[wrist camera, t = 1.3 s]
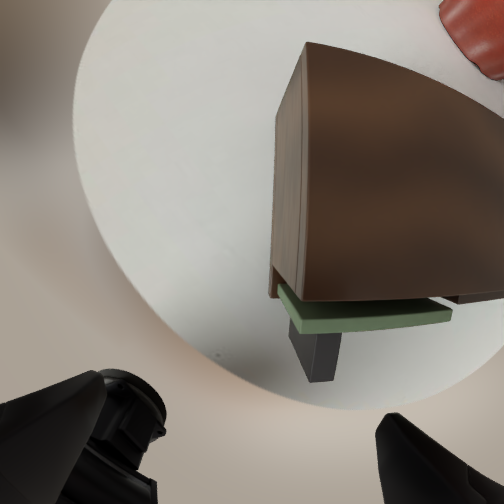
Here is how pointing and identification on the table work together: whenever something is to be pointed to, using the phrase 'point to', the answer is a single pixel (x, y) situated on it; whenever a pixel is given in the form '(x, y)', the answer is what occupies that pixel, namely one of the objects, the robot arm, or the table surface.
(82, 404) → the robot arm
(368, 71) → the cupboard
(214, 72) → the table surface
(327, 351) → the sliding door
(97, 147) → the table surface
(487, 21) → the flower pot
